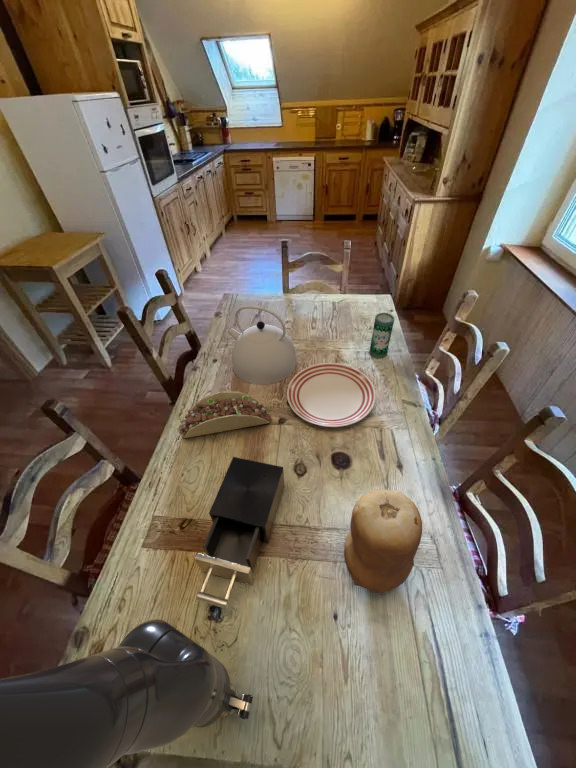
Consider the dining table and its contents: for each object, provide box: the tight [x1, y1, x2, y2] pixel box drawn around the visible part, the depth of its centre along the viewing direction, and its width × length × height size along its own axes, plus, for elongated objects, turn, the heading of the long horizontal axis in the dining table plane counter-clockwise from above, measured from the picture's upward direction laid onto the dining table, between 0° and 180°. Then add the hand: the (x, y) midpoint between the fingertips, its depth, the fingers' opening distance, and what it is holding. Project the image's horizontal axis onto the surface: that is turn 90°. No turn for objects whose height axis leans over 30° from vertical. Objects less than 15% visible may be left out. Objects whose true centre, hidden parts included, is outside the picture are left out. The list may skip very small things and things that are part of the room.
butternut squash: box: [343, 489, 423, 595], centre depth 64 cm, size 14×13×25 cm
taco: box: [178, 391, 272, 439], centre depth 98 cm, size 10×27×10 cm, turn 102°
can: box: [368, 312, 395, 359], centre depth 118 cm, size 6×6×15 cm
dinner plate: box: [286, 362, 377, 428], centre depth 107 cm, size 27×27×3 cm
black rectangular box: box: [208, 456, 286, 545], centre depth 80 cm, size 15×13×9 cm
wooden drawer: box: [193, 517, 263, 610], centre depth 71 cm, size 19×11×7 cm, turn 166°
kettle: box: [226, 305, 297, 386], centre depth 114 cm, size 25×23×22 cm
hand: (219, 697), depth 58 cm, fingers closed on copper tin, 5 cm apart
